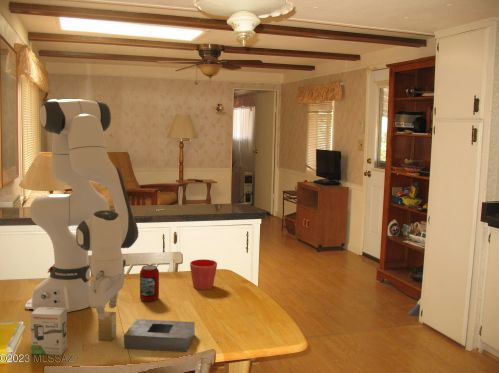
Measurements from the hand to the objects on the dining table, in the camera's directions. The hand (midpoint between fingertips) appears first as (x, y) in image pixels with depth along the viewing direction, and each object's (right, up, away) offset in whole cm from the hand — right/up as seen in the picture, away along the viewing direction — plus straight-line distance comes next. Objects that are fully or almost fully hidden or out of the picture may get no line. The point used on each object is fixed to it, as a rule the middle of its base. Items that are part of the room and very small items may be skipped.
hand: (107, 312), depth 150 cm
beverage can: (+5, -4, +36) cm, 36 cm away
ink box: (-14, -9, -8) cm, 18 cm away
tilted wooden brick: (0, -8, +1) cm, 8 cm away
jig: (+16, -8, 0) cm, 18 cm away
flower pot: (+24, -3, +51) cm, 56 cm away
